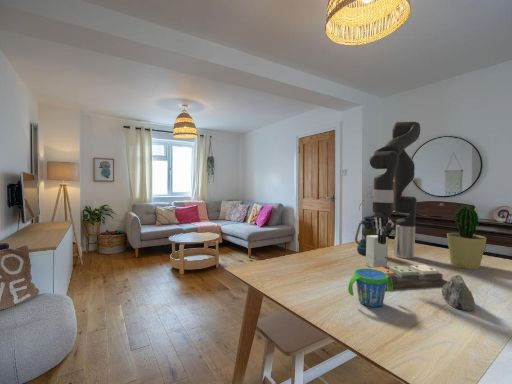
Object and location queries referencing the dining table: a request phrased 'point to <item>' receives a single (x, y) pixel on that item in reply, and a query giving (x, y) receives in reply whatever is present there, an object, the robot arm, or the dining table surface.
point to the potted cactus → (466, 241)
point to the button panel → (417, 280)
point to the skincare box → (376, 252)
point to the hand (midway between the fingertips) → (381, 243)
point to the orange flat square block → (384, 270)
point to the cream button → (424, 269)
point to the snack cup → (371, 286)
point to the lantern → (364, 233)
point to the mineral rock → (458, 294)
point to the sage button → (403, 270)
